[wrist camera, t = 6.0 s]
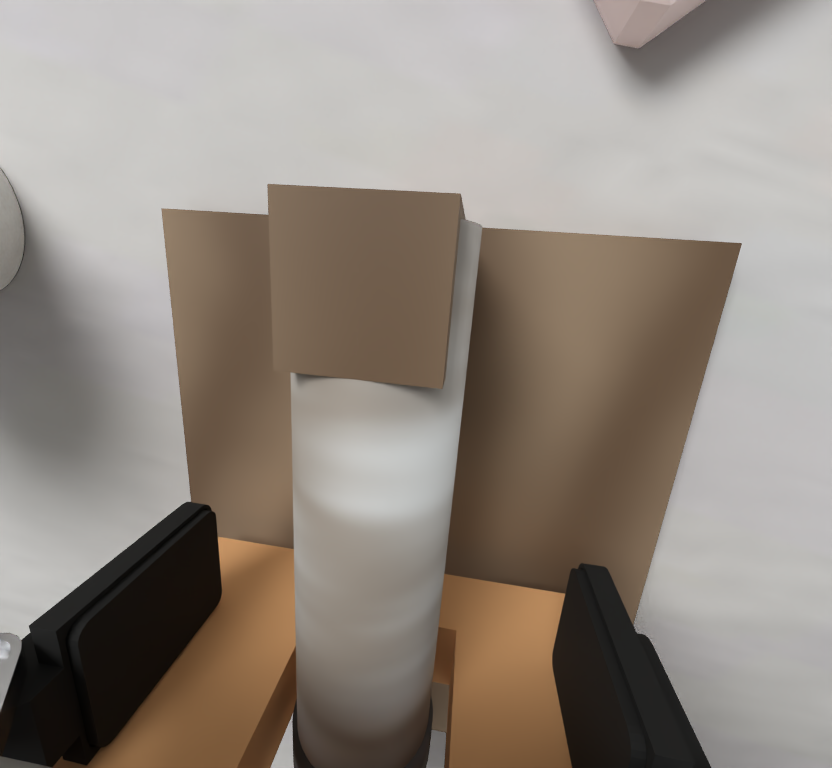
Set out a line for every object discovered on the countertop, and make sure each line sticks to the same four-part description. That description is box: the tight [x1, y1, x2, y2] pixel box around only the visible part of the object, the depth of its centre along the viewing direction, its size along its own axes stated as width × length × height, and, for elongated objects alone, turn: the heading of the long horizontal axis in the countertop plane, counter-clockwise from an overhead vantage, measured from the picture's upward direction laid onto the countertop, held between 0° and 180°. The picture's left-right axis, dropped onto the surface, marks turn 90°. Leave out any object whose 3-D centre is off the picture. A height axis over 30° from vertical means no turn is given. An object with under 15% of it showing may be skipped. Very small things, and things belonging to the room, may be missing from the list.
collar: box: [52, 537, 572, 768], centre depth 9 cm, size 13×2×8 cm, turn 86°
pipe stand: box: [162, 184, 742, 768], centre depth 11 cm, size 16×19×8 cm
